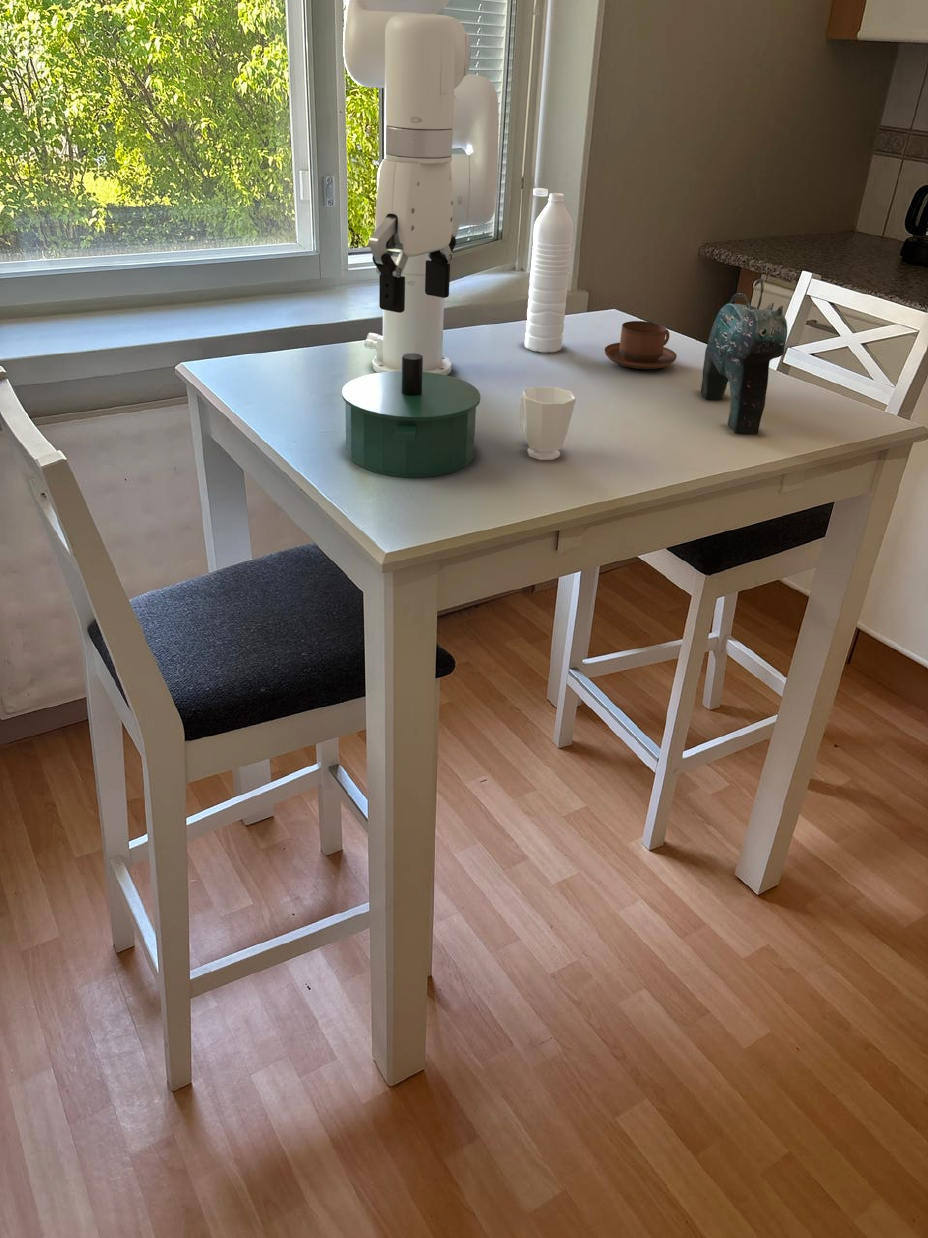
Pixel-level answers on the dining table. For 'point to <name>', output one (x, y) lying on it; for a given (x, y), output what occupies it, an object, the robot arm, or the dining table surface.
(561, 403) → the cup
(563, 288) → the water bottle
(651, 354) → the cup and saucer
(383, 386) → the pot lid
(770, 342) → the ceramic cat
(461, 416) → the pot
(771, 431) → the dining table surface
